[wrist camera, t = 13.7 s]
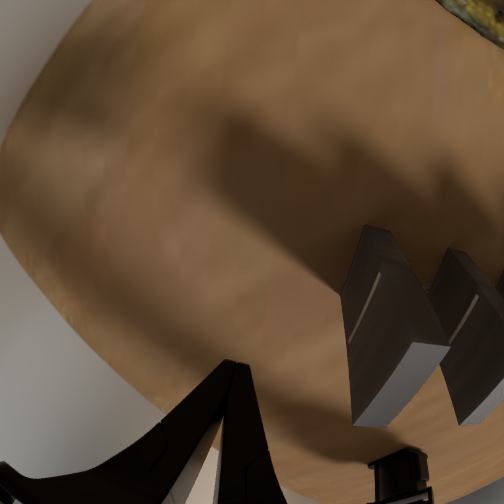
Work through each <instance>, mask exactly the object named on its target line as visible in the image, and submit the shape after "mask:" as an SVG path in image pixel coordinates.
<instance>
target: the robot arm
mask: <svg viewBox="0 0 504 504" xmlns="http://www.w3.org/2000/svg"><path fill="white" fill-rule="evenodd" d="M223 417H224V418H223ZM222 420H223V424H222V432H221V440H220V448H219V457H218V465H217V473H216V481H215V490H214V498H213V504H287V502H286V499H285V497H284V495H283V492H282V490H281V488H280V485H279V482H278V480H277V477H276V474H275V471H274V468H273V464H272V461H271V457H270V452H269V450H268V444H267V440H266V436H265V432H264V427H263V423H262V419H261V414H260V410H259V405H258V401H257V396H256V392H255V387H254V383H253V378H252V374H251V369H250V366H249V364H245V363H241V362H238V363H236V361H233V360H229V359H224V360H223V361H222V362H221V363H220V364H219V365H218V366H217V367H216V368H215V369H214V370H213V371H212V372H211V373H210V374H209V375H208V376H207V377H206V378H205V379H204V380H203V381H202V382H201V383H200V384H199V385H198V386H197V387H196V388H195V389H194V390H193V391H192V392H191V393H189V394H188V395H187V396H186V397H185V398H184V399H183V400H182V401H181V402H180V403H179V404H178V405H177V406H176V407H175V408H174V409H173V410H172V411H171V412H169V413H168V414H167V415H166V416H165V417H164V418H163V419H162V420H161V422H159V423H157V424H156V425H155V426H154V427H153V428H152V429H151V430H150V431H149V432H147V433H146V434H145V435H144V436H143V437H141V438H140V439H139V440H137V441H136V442H134V443H133V444H132V445H130V446H129V447H127V448H126V449H124V450H123V451H121V452H119V453H118V454H116V455H115V456H113V457H112V458H110V459H108V460H107V461H105V462H103V463H102V464H100V465H98V466H96V467H95V468H92V469H89V470H86V471H82V472H78V473H72V474H67V475H61V476H55V477H48V478H41V479H33V478H28V477H25V476H23V475H21V474H20V473H19V472H18V471H16V470H15V469H14V468H12V467H11V466H10V465H9V464H7V463H6V462H5V461H2V462H0V504H185V502H186V500H187V498H188V496H189V494H190V492H191V490H192V487H193V485H194V483H195V481H196V479H197V477H198V474H199V472H200V470H201V468H202V466H203V463H204V461H205V459H206V457H207V454H208V452H209V450H210V448H211V445H212V443H213V441H214V439H215V436H216V434H217V432H218V429H219V427H220V425H221V422H222ZM427 459H428V456H427V455H425V454H423V453H420V452H417V451H415V450H412V449H410V448H407V449H404V450H402V451H399V452H397V453H395V454H393V455H391V456H388V457H386V458H384V459H381V460H379V461H376V462H374V463H371V464H369V465H368V469H372V470H374V476H375V502H373V503H371V502H370V503H366V504H434V495H433V490H432V486H430V487H427V484H426V482H427V481H428V480H429V472H428V465H427ZM427 498H428V500H427V501H423V500H424V499H427Z"/></svg>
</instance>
